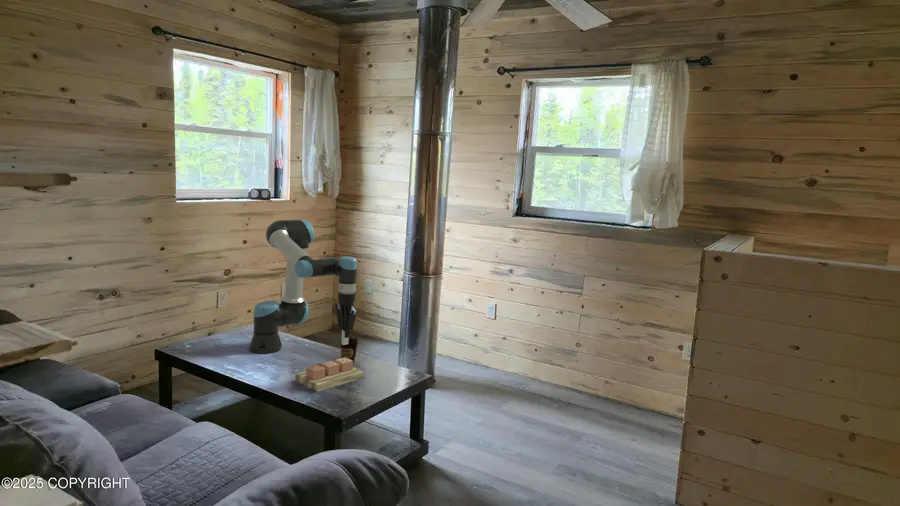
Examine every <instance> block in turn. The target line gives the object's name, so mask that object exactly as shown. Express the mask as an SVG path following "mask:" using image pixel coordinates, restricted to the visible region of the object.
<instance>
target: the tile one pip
mask: <svg viewBox="0 0 900 506" xmlns="http://www.w3.org/2000/svg"><path fill="white" fill-rule="evenodd" d="M305 371H306V377H307V378H309V379H311V380H313V381H315V380H319V379H322V378H325V368H324V367H322V366H321V365H319V364H315V365H311V366H306V370H305Z"/></svg>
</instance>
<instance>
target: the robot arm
mask: <svg viewBox="0 0 900 506" xmlns="http://www.w3.org/2000/svg"><path fill="white" fill-rule="evenodd" d="M265 239H266V241H267V243H268V244H269V245H270V246H271V247H272V248H273V249H277V250H278V251H279V253H281V254H282V255H284V257H285V258H286V266H285V267H286V269H285V285H284V295H283V296H281V298H280V299H281V301H280V303H279V301H277V300H265V301H261V302H259V303H257V304H256V305H255V306H254V307H253V334H252V338H251V340H250V343H249V351H250V352H252V353H256V354H273V353H277V352H279V351H281V350H282V345H283V344H282V340H281V338H280V335H279V327H287V326H294V325H296V326H297V325H300V324H303V323H305V322H306V321H307V319H308V318H309V313H310V308H309V304H308V302H307V301H306V299H305V298H304V296H303V288H304V279H308V278H315V277H316V278H317V277H329V276H336V277H338V288H337V289H338V293H337V300H338V304H335V306H334V309H335V311H336V319H337V326H338V327H337V328H340V330H341V333H340V335H341V338H342V342H341V343H340V345H341V344H342V345H346V344H348V341H349V335H350V331H352V330H354V325H355V320H356V317H357V314H358V312H359V311H358V310H357V309H355V305H354V302H355V301H356V293H355V292H357V291H356V289H357V273H358V272H357V269H358V266H357V261H358V260H357V258H356V257H354V256H340V258H338V257H336V256H335V257H333V256H332V257H331V256H329V257H326V258H318V259H313V258H312V257H311V256H310V255H309V254H308V253H306V251H307V250H308V249H309V247H310V246H309V245H310V244H311V243H313V242H314V240H315V231H314V228H313V225H312V223H311V222H310V221H308V220H305V219H285V220H284V219H279V220H275V221H273V222H272V223H271V224H269V225H268V227H267V228H266V230H265Z"/></svg>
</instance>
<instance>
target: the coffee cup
mask: <svg viewBox="0 0 900 506" xmlns="http://www.w3.org/2000/svg"><path fill="white" fill-rule="evenodd" d="M340 338H341V339H339V342H340V359H341V358H348V359H350V360H352V361H353V365H355V363H356V361H355V359H356V355H357V352H358V351H357V350H358V344H359V339H358V336H357V335H354V334H349V341H348V344H346V345H342V344H341V342H342V337H340Z"/></svg>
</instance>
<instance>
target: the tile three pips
mask: <svg viewBox="0 0 900 506" xmlns="http://www.w3.org/2000/svg"><path fill="white" fill-rule="evenodd" d="M334 362H335V363H337V364H339V371H340V372H342V373H343V372H347V371H350V370H353V368H354V366H353V365H354V364H353V361H352V360H350V359H348V358H341V357H340V358H337V359H335V360H334Z"/></svg>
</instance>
